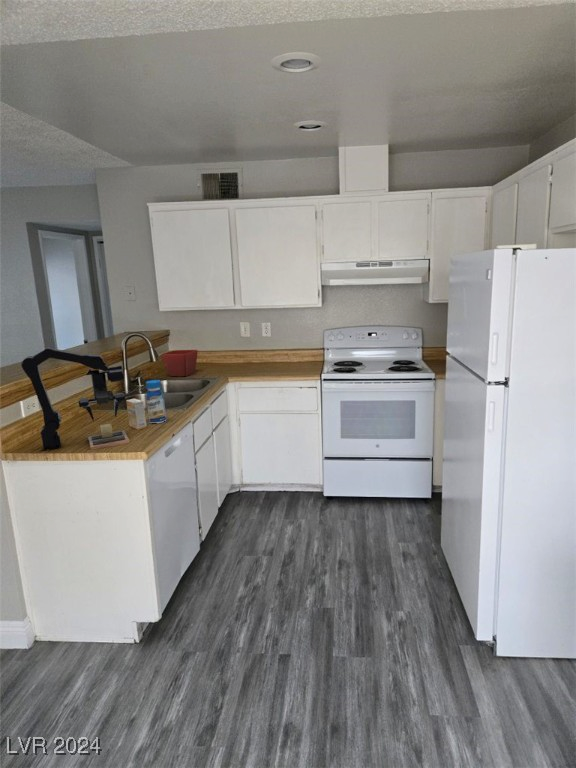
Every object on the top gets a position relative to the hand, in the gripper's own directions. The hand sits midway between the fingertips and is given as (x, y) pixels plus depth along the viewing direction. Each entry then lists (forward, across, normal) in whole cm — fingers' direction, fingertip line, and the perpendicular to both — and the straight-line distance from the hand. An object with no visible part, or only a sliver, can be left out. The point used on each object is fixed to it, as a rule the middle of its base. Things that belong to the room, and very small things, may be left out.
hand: (104, 418), depth 220 cm
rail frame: (+9, 0, -4) cm, 10 cm away
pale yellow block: (+9, 0, 0) cm, 9 cm away
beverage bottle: (+9, +25, +14) cm, 30 cm away
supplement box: (+9, +15, +10) cm, 20 cm away
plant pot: (+9, +63, +126) cm, 142 cm away
